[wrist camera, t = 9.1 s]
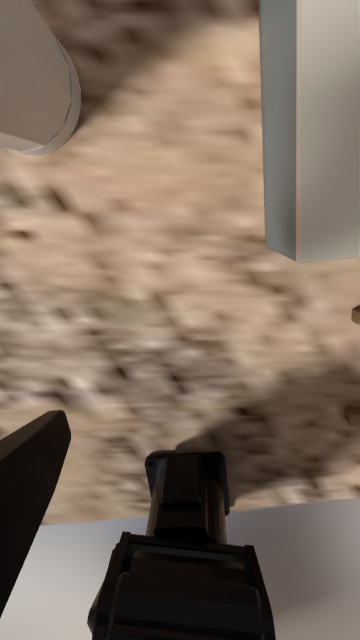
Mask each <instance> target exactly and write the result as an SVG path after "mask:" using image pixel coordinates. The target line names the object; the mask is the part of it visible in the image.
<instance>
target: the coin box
mask: <svg viewBox="0 0 360 640" xmlns="http://www.w3.org/2000/svg"><path fill="white" fill-rule="evenodd" d="M259 30H260V65H261V100H262V136H263V171H264V206H265V241H266V247H268V248H270V249H272V250H274V251H276V252H278V253H280V254H282V255H284V256H286V257H288V258H290V259H292V260H294V261H296V262H298V263H309V262H319V261H328V260H337V259H346V258H356V257H360V0H259Z"/></svg>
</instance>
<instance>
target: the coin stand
mask: <svg viewBox="0 0 360 640" xmlns="http://www.w3.org/2000/svg"><path fill="white" fill-rule="evenodd" d="M352 321H353V322H355V323H356V324H360V308H356V309H352ZM345 418H346V419H347V421H348V422H349V424H350V425H352V424H360V408H348V409H346V413H345Z"/></svg>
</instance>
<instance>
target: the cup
mask: <svg viewBox="0 0 360 640" xmlns="http://www.w3.org/2000/svg"><path fill="white" fill-rule="evenodd" d="M80 110H81V87H80V82H79V78H78V74H77V71H76V68H75V66H74V64H73V61H72V59H71V58H70V56H69V54H68V53H67V51H66V50H65V48H64V47H63V46H62V45H61V43H60V42H59V41H58V40H57V38H56V37H55V36H54V35H53V33H52V32H51V30H50V29H49V27H48V25H47V24H46V22H45V21H44V19H43V18H42V16H41V15H40V13H39V12H38V10H37V9H36V7H35V6H34V4H33V3H32V1H31V0H0V147H2V148H6V149H9V150H12V151H15V152H18V153H21V154H25V155H32V156H37V155H44V154H48V153H51V152H53V151H55V150H57V149H58V148H60V147H61V146H62V145H63V144H64V143H65V142H66V141H67V140H68V139H69V138H70V136H71V135H72V133H73V131H74V129H75V127H76V125H77V122H78V119H79V115H80Z"/></svg>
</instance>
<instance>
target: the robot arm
mask: <svg viewBox="0 0 360 640" xmlns="http://www.w3.org/2000/svg"><path fill="white" fill-rule="evenodd" d="M70 441H71V431H70V428H69V424H68V421H67V417H66V414H65V412H64V411H62V410H54V411H48V412H47V413H45V414H43V415H41V416H40V417H38V418H36V419H35V420H33V421H31V422H30V423H28V424H26V425H25V426H23V427H21V428H20V429H18V430H16V431H15V432H13V433H11V434H10V435H8V436H6V437H5V438H3V439H1V440H0V617H1V615H2V613H3V610H4V608H5V605H6V603H7V601H8V599H9V596H10V594H11V592H12V589H13V587H14V585H15V582H16V580H17V578H18V575H19V573H20V571H21V568H22V566H23V564H24V561H25V559H26V557H27V554H28V552H29V550H30V547H31V545H32V543H33V540H34V538H35V536H36V533H37V531H38V529H39V526H40V524H41V522H42V519H43V517H44V515H45V512H46V510H47V508H48V505H49V503H50V501H51V498H52V496H53V493H54V491H55V488H56V485H57V482H58V479H59V476H60V473H61V470H62V466H63V463H64V460H65V457H66V454H67V450H68V447H69V444H70ZM218 458H219V460H217V459H218ZM150 462H153V463H150ZM145 468H146V473H147V478H148V483H149V488H150V493H151V498H152V501H151V507H150V513H149V519H148V525H147V531H146V535H136V534H131V532H123V533H122V535H121V539H120V542H119V543H117V544H116V547H115V549H114V550H113V551H112V555H111V558H110V562H109V567H108V570H107V573H106V576H105V579H104V582H103V584H102V586H101V588H100V590H99V592H98V594H97V596H96V598H95V600H94V602H93V604H92V606H91V608H90V611H89V615H88V622H87V624H88V626H89V628H90V631H91V633H92V635H93V636H92V640H276V638H275V630H274V622H273V616H272V610H271V606H270V602H269V599H268V595H267V591H266V588H265V585H264V581H263V577H262V574H261V570H260V567H259V563H258V560H257V556H256V553H255V549H254V546H253V545H245V546H238V545H228V544H227V536H226V524H225V516H227V515H228V514H229V512H230V510H229V499H228V488H227V477H226V466H225V457H224V455H223V453H220V452H212V453H192V454H172V455H152V456H148V457H147V458H146V460H145Z"/></svg>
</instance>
